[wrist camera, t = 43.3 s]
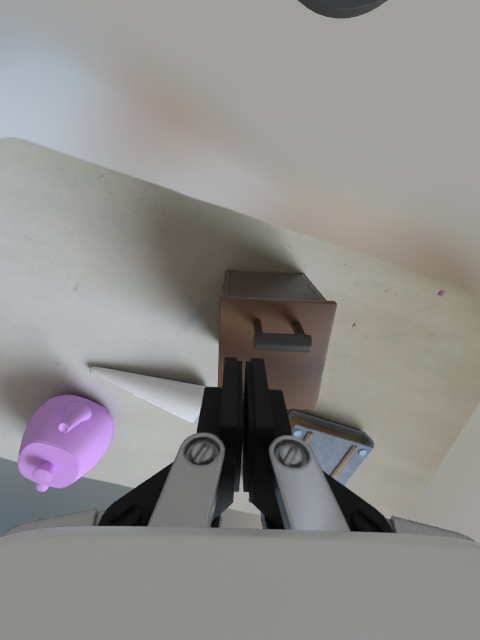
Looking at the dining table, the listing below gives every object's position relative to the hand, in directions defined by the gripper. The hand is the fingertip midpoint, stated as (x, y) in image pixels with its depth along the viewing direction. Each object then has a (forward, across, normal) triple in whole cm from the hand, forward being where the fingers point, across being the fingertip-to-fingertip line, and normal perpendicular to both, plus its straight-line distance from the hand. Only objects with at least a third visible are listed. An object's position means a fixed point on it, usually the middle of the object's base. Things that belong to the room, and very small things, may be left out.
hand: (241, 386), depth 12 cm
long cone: (+31, +14, +22) cm, 41 cm away
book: (+31, -15, +40) cm, 53 cm away
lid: (+17, -4, +9) cm, 20 cm away
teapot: (+31, +27, +31) cm, 52 cm away
